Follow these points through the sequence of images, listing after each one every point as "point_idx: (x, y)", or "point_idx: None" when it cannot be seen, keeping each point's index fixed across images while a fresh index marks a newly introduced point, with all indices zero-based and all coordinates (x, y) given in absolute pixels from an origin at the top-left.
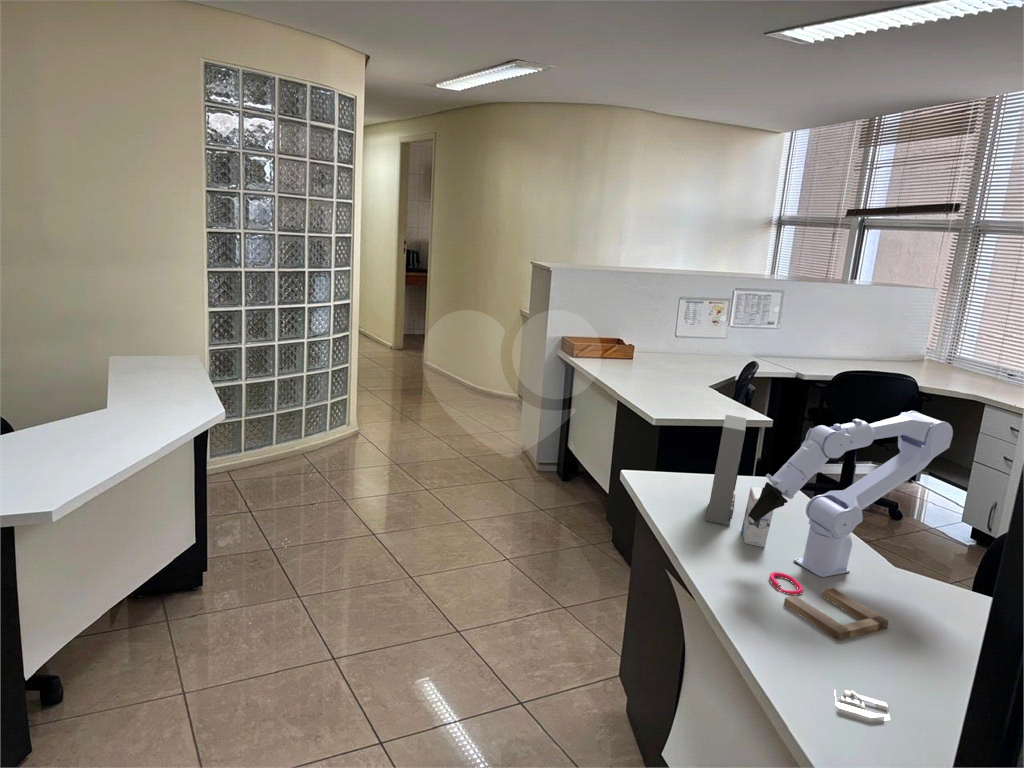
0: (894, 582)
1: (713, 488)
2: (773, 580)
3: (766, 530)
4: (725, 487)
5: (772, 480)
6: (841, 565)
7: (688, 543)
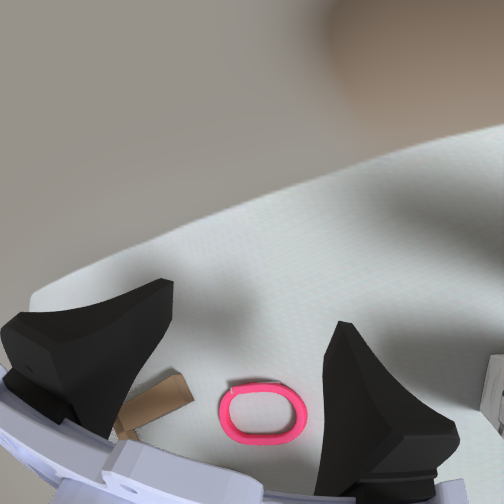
0: None
1: None
2: (250, 384)
3: (494, 421)
4: None
5: (68, 436)
6: None
7: (423, 189)
